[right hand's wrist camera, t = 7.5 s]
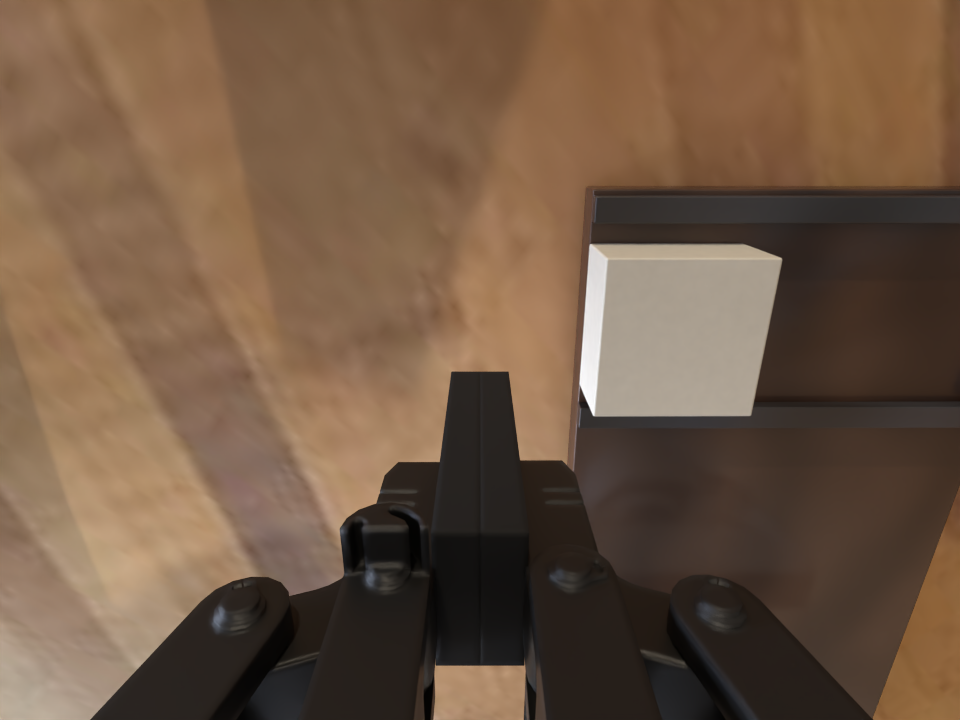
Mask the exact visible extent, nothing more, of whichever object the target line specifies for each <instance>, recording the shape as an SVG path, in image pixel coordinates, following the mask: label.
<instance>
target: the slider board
mask: <svg viewBox="0 0 960 720" xmlns="http://www.w3.org/2000/svg"><path fill="white" fill-rule="evenodd" d="M590 244H745V245H748V246H751V247H753V248H756V249H759V250H761V251H764V252H767V253H769V254H772V255H775V256H777V257H780V258H782V265H781V270H780V274H779V279H778V284H777V289H776V294H775V299H774V304H773V309H772V314H771V319H770V324H769V329H768V334H767V339H766V344H765V349H764V354H763V359H762V364H761V369H760V374H759V379H758V384H757V389H756V394H755V399H754V404H753V409H752V414H751V416H593V414H592V412H591V410H590V407H589V405H588V403H587V400H586V398H585V396H584V393H583V391H582V389H581V386H580V371H581V357H582V343H583V330H584V316H585V302H586V288H587V274H588V261H589V247H590ZM567 466H568V467H569V468H570V469H571V470H572V471H573V472H574V473H575V474H576V478H577V481H578V484H579V488H580V492H581V495H582V498H583V501H584V505H585V508H586V511H587V515H588V518H589V522H590V525H591V528H592V532H593V535H594V539H595V542H596V545H597V549H598V552H599V554H600V555H602V556H603V557H604V558H605V559H607V560H608V561H609V562H610V564H611V566H612V567H613V569H614V571H615V572H616V575H617V576H619V577H620V578H622V579H624V580H626V581H628V582H630V583H632V584H635V585H638V586H641V587H644V588H648V589H652V590H656V591H660V592H664V593H669V594H671V592H672V589H673V588H674V586H675V585H676V584H677V583H678V581H679V580H681V579H684V578H686V577H689V576H691V575H713V576H717V577H721V578H726V579H729V580H731V581H733V582H735V583H737V584H739V585H741V586H743V587H745V588H746V589H747V590H749V591H750V592H751V593H752V594H754V595H755V596H756V597H757V598H759V599H760V600H761V601H762V602H763V603H764V605H765V606H766V607H767V608H768V609H769V610H770V611H771V612H772V613H773V614H774V615H775V616H776V617H777V618H778V619H779V620H780V621H781V623H782V624H783V625H784V626H785V627H786V628H787V629H788V630H789V631H790V632H791V633H792V634H793V635H794V636H795V637H796V638H797V640H798V641H799V642H800V643H801V644H802V645H803V646H804V647H805V648H806V649H807V650H808V651H809V652H810V653H811V654H812V655H813V656H814V658H815V659H816V660H817V661H818V662H819V663H820V664H821V665H822V666H823V667H824V668H825V669H826V670H827V671H828V672H829V673H830V675H831V676H832V677H833V678H834V679H835V680H836V681H837V682H838V683H839V684H840V685H841V686H842V687H843V688H844V689H845V690H846V691H847V693H848V694H849V695H850V696H851V697H852V698H853V699H854V700H855V701H856V702H857V703H858V704H859V705H860V706H861V707H862V708H863V710H864V711H865V712H866V713H867V714H868V715H869V716H870V717H871V718H873V715H874V713H875V710H876V707H877V705H878V702H879V699H880V697H881V694H882V691H883V689H884V686H885V683H886V681H887V678H888V675H889V673H890V670H891V667H892V665H893V662H894V659H895V657H896V654H897V651H898V649H899V646H900V643H901V641H902V638H903V635H904V633H905V630H906V627H907V625H908V622H909V619H910V617H911V614H912V611H913V608H914V606H915V603H916V600H917V598H918V595H919V592H920V590H921V587H922V584H923V582H924V579H925V576H926V574H927V571H928V568H929V566H930V563H931V560H932V558H933V555H934V552H935V550H936V547H937V544H938V542H939V539H940V536H941V534H942V531H943V528H944V526H945V523H946V520H947V518H948V515H949V512H950V510H951V507H952V504H953V501H954V499H955V496H956V493H957V491H958V488H959V485H960V187H721V186H588V187H586V197H585V212H584V226H583V241H582V256H581V271H580V285H579V300H578V315H577V330H576V345H575V359H574V374H573V389H572V404H571V419H570V433H569V448H568V463H567Z"/></svg>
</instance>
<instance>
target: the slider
mask: <svg viewBox="0 0 960 720" xmlns="http://www.w3.org/2000/svg"><path fill="white" fill-rule="evenodd" d="M781 265H782V258H780V257H777V256H775V255H772V254H769V253H767V252H764V251H761V250H759V249H756V248H753V247H751V246H748V245H745V244H590V247H589V261H588V274H587V288H586V302H585V316H584V330H583V343H582V357H581V371H580V386H581V389H582V391H583V393H584V396H585V398H586V400H587V403H588V405H589V407H590V410H591V412H592V414H593V416H751V414H752V409H753V404H754V399H755V394H756V389H757V384H758V379H759V374H760V369H761V364H762V359H763V354H764V349H765V344H766V339H767V334H768V329H769V324H770V319H771V314H772V309H773V304H774V299H775V294H776V289H777V284H778V279H779V274H780V270H781Z"/></svg>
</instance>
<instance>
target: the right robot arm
mask: <svg viewBox="0 0 960 720" xmlns="http://www.w3.org/2000/svg"><path fill="white" fill-rule="evenodd" d="M340 536H341V545H342V554H343V563H344V576H343V578H342V579H340V580H338V581H336V582H334V583H332V584H331V585H329V586H326V587H323V588H320V589H317V590H313V591H309V592H305V593H301V594H297V595H292V596H289V592H288V591H287V589H286V588H285V587H284V586H283V584H282V583H281V582H278V581H276V580H273V579H271V578H268V577H249V578H245V579H240V580H236V581H233V582H230V583H228V584H226V585H224V586H222V587H220V588H218V589H216V590H215V591H213V592H212V593H211V594H210V595H209V596H207V597H206V598H205V599H204V600H202V601H201V602H200V603H199V604H198V605H197V606H196V608H195V609H194V610H193V611H192V612H191V613H190V614H189V615H188V616H187V617H186V618H185V619H184V620H183V621H182V622H181V624H180V625H179V626H178V627H177V628H176V629H175V630H174V631H173V632H172V633H171V634H170V635H169V636H168V637H167V638H166V640H165V641H164V642H163V643H162V644H161V645H160V646H159V647H158V648H157V649H156V650H155V651H154V652H153V653H152V654H151V656H150V657H149V658H148V659H147V660H146V661H145V662H144V663H143V664H142V665H141V666H140V667H139V668H138V669H137V670H136V672H135V673H134V674H133V675H132V676H131V677H130V678H129V679H128V680H127V681H126V682H125V683H124V684H123V685H122V687H121V688H120V689H119V690H118V691H117V692H116V693H115V694H114V695H113V696H112V697H111V698H110V699H109V700H108V701H107V703H106V704H105V705H104V706H103V707H102V708H101V709H100V710H99V711H98V712H97V713H96V714H95V715H94V716H93V717H92V719H91V720H433V717H434V704H435V681H434V670H435V659H436V665H454V666H455V665H459V666H460V665H463V666H465V665H467V666H470V665H472V666H475V665H476V666H480V665H524V656H525V667H526V681H525V706H524V720H873V719H872V718H871V717H870V716H869V715H868V714H867V713H866V712H865V711H864V710H863V708H862V707H861V706H860V705H859V704H858V703H857V702H856V701H855V700H854V699H853V698H852V697H851V696H850V695H849V694H848V693H847V691H846V690H845V689H844V688H843V687H842V686H841V685H840V684H839V683H838V682H837V681H836V680H835V679H834V678H833V677H832V676H831V675H830V673H829V672H828V671H827V670H826V669H825V668H824V667H823V666H822V665H821V664H820V663H819V662H818V661H817V660H816V659H815V658H814V656H813V655H812V654H811V653H810V652H809V651H808V650H807V649H806V648H805V647H804V646H803V645H802V644H801V643H800V642H799V641H798V640H797V638H796V637H795V636H794V635H793V634H792V633H791V632H790V631H789V630H788V629H787V628H786V627H785V626H784V625H783V624H782V623H781V621H780V620H779V619H778V618H777V617H776V616H775V615H774V614H773V613H772V612H771V611H770V610H769V609H768V608H767V607H766V606H765V605H764V603H763V602H762V601H761V600H760V599H759V598H757V597H756V596H755V595H754V594H752V593H751V592H750V591H749V590H747V589H746V588H745V587H743V586H741V585H739V584H737V583H735V582H733V581H731V580H729V579H726V578H721V577H717V576H713V575H691V576H689V577H686V578H684V579H681V580H679V581H678V583H677V584H676V585H675V586H674V588H673V589H672V592H671V594H669V593H664V592H660V591H656V590H652V589H648V588H644V587H641V586H638V585H635V584H632V583H630V582H628V581H626V580H624V579H622V578H620V577H619V576H617V575H616V572H615V571H614V569H613V567H612V566H611V564H610V562H609V561H608V560H607V559H605V558H604V557H603V556H602V555H600V554H599V552H598V549H597V545H596V542H595V539H594V535H593V532H592V528H591V525H590V522H589V518H588V515H587V511H586V508H585V505H584V501H583V498H582V495H581V492H580V488H579V484H578V481H577V478H576V474H575V473H574V472H573V471H572V470H571V469H570V468H569V467H568V466H567V465H566V464H565V463H564V462H563V461H520V458H519V450H518V442H517V434H516V427H515V419H514V411H513V403H512V396H511V388H510V380H509V372H451V380H450V388H449V396H448V403H447V411H446V419H445V427H444V434H443V442H442V450H441V458H440V462H398V463H397V464H396V465H395V466H394V467H393V468H392V469H391V470H390V471H389V472H388V473H387V474H386V475H385V476H384V480H383V483H382V487H381V490H380V494H379V497H378V500H377V504H374V505H371V506H368V507H365V508H363V509H360V510H358V511H357V512H355V513H354V514H352V515H351V516H349V517H348V518H347V519H346V520H345V522H344V523H343V525H342V526H341V528H340Z"/></svg>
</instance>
